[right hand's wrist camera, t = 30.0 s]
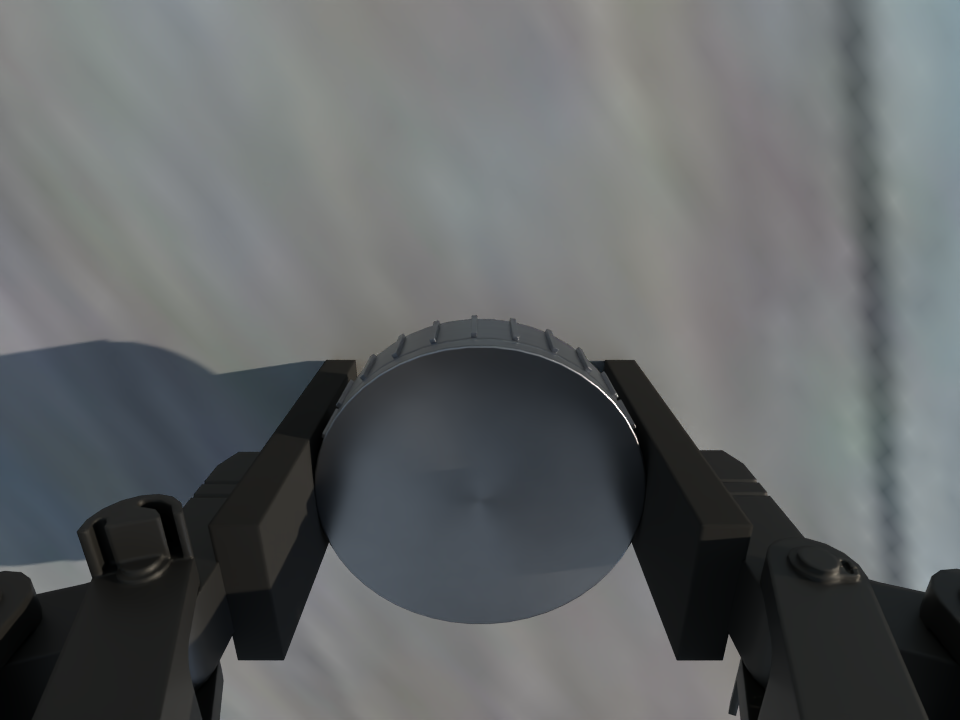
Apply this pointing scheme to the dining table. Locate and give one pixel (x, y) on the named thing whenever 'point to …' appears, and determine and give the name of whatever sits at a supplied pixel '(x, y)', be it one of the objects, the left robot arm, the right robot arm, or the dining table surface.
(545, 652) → the dining table surface
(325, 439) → the lid
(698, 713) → the dining table surface
